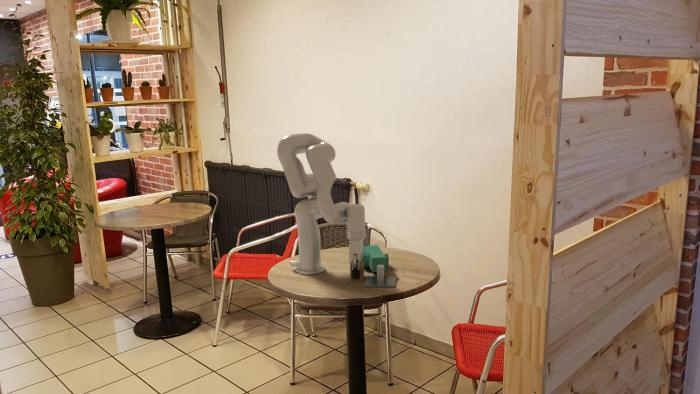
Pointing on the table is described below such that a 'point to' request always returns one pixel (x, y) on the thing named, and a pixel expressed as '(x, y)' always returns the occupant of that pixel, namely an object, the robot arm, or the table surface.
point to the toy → (374, 257)
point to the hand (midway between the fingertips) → (357, 275)
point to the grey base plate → (380, 279)
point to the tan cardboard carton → (361, 267)
